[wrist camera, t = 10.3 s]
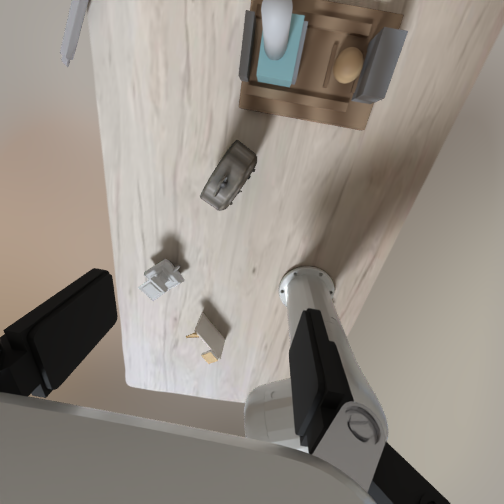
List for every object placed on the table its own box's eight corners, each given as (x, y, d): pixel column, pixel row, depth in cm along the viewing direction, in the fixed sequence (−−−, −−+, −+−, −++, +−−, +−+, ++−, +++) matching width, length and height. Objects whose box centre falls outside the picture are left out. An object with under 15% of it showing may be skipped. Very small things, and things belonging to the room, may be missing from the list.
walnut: (361, 75, 34) (372, 66, 30) (336, 92, 35) (343, 86, 31) (351, 46, 32) (361, 34, 29) (325, 65, 34) (332, 55, 30)
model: (216, 342, 63) (209, 366, 56) (193, 315, 60) (183, 337, 53) (225, 338, 62) (219, 362, 55) (203, 311, 59) (194, 333, 52)
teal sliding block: (305, 29, 31) (324, -36, 20) (293, 88, 34) (304, 60, 23) (266, 22, 31) (262, -47, 20) (257, 81, 34) (250, 50, 23)
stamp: (165, 288, 56) (148, 311, 49) (146, 268, 54) (126, 289, 46) (192, 272, 53) (178, 293, 46) (173, 251, 51) (156, 269, 44)
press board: (398, 20, 32) (426, -8, 26) (361, 130, 38) (377, 127, 32) (252, -6, 32) (248, -40, 26) (239, 108, 38) (233, 101, 32)
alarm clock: (240, 139, 40) (222, 135, 26) (264, 158, 41) (260, 165, 27) (209, 188, 44) (178, 210, 30) (231, 205, 46) (212, 233, 31)
